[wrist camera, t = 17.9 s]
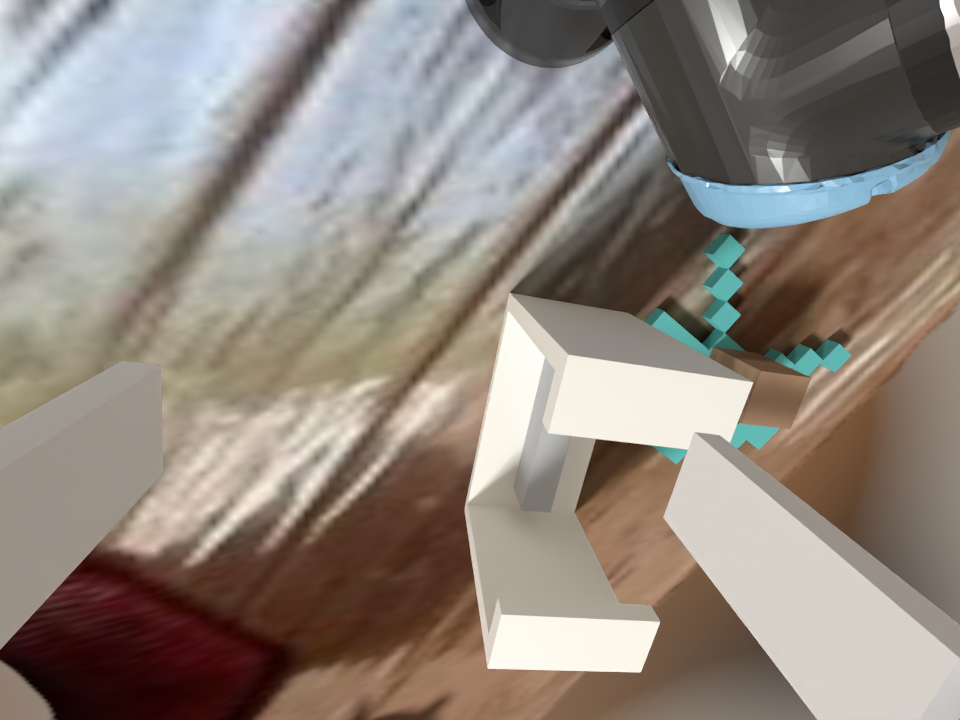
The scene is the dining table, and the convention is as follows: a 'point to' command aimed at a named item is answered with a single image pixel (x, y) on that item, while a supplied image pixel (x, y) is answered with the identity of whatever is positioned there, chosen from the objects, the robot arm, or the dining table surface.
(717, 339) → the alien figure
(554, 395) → the box
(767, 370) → the walnut block
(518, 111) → the dining table surface
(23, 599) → the robot arm
